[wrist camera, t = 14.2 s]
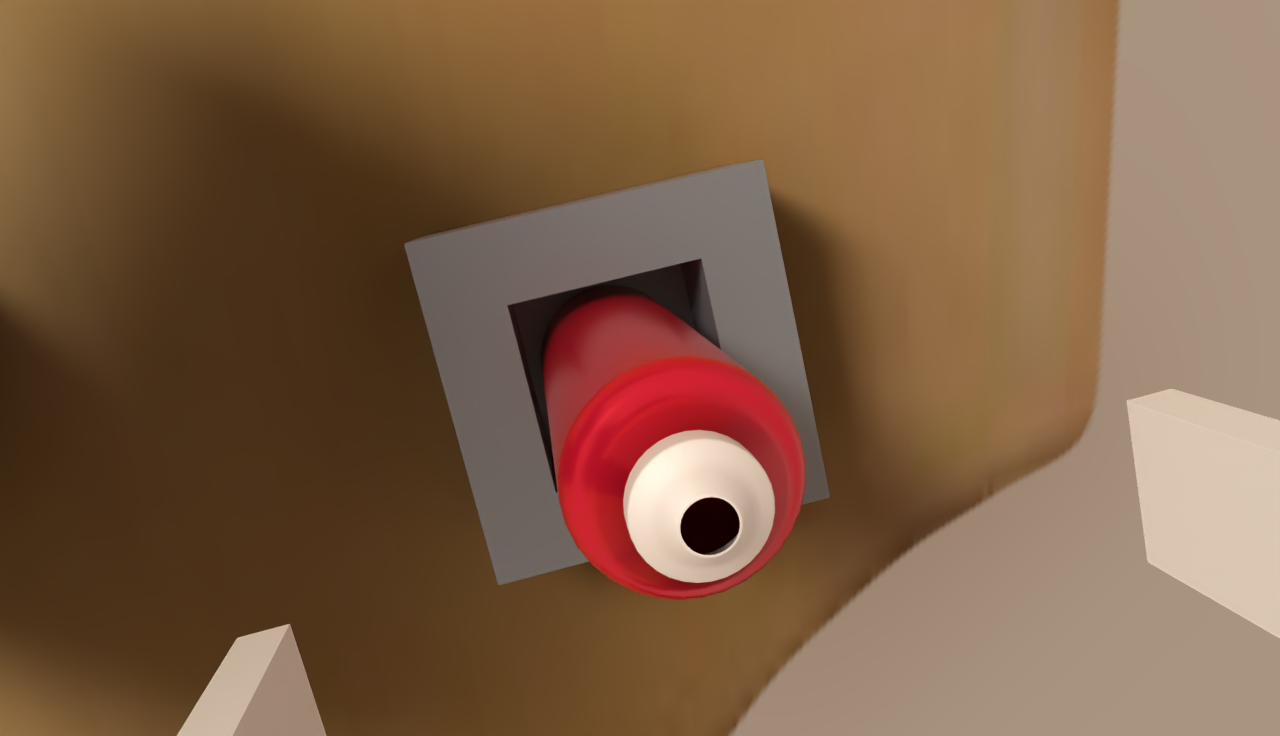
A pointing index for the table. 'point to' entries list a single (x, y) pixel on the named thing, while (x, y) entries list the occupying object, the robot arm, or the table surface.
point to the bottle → (665, 448)
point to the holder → (567, 265)
